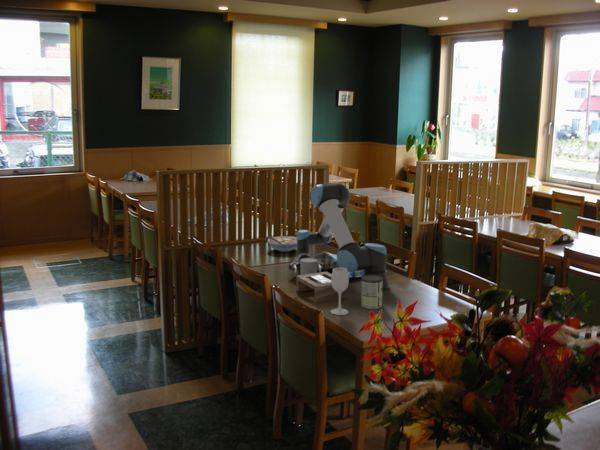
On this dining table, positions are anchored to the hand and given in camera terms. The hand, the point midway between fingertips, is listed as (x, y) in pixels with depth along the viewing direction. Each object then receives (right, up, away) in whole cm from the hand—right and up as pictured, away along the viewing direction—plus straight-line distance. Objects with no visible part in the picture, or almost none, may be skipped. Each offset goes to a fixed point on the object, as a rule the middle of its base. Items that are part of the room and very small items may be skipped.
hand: (308, 270), depth 347 cm
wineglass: (+14, -16, -49) cm, 53 cm away
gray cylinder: (0, -7, +1) cm, 7 cm away
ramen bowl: (-15, +8, +71) cm, 72 cm away
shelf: (+7, -11, -21) cm, 24 cm away
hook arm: (+7, -5, -22) cm, 24 cm away
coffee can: (+30, -15, -39) cm, 51 cm away
